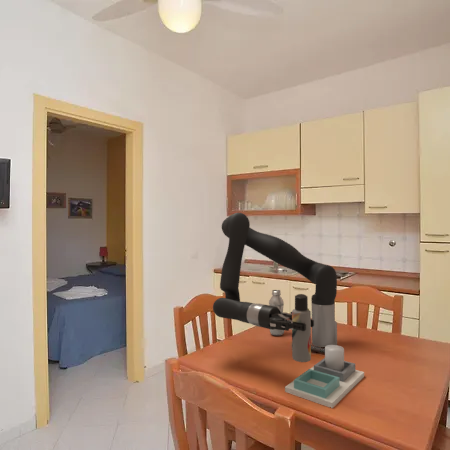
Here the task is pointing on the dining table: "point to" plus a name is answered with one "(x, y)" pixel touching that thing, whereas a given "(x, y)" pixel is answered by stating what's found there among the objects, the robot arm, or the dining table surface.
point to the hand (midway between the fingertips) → (309, 325)
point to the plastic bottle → (279, 303)
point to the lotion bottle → (301, 338)
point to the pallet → (327, 379)
